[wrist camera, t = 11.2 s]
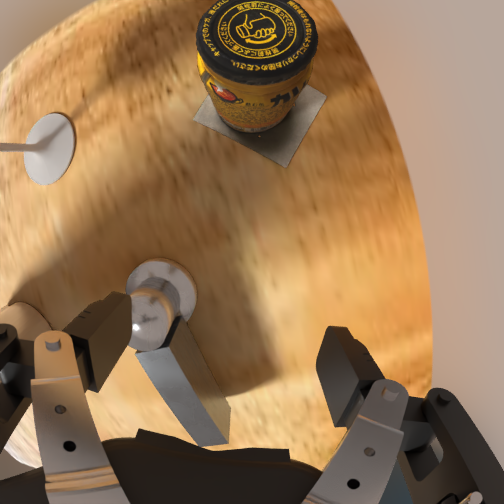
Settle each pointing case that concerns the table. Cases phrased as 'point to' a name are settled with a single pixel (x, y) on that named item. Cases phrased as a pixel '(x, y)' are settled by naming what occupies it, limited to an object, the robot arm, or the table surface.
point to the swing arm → (177, 363)
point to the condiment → (258, 74)
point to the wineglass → (46, 149)
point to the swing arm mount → (172, 274)
